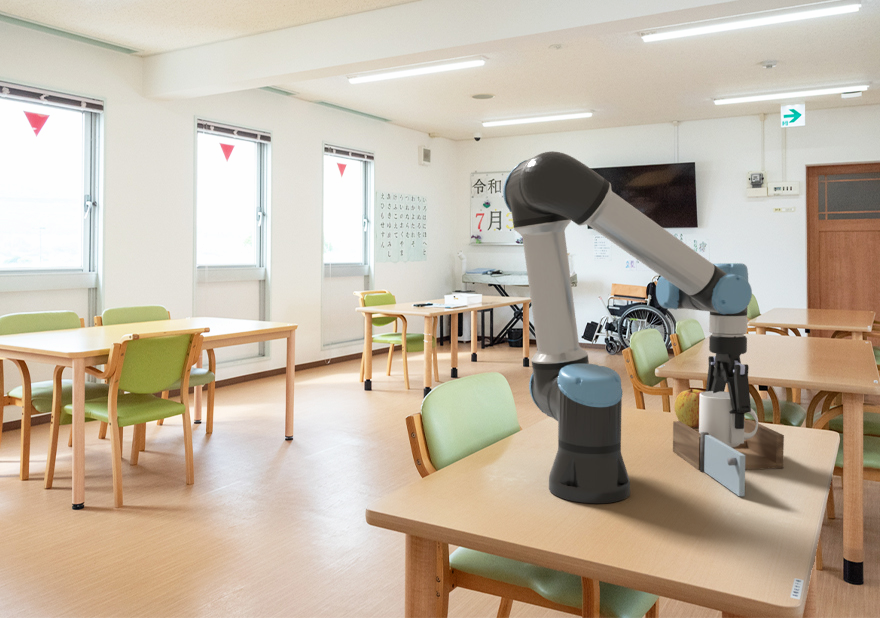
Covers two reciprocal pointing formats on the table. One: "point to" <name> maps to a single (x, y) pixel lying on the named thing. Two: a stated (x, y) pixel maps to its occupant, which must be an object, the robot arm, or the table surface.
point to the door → (725, 465)
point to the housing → (757, 450)
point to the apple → (688, 407)
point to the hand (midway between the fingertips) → (726, 437)
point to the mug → (719, 416)
